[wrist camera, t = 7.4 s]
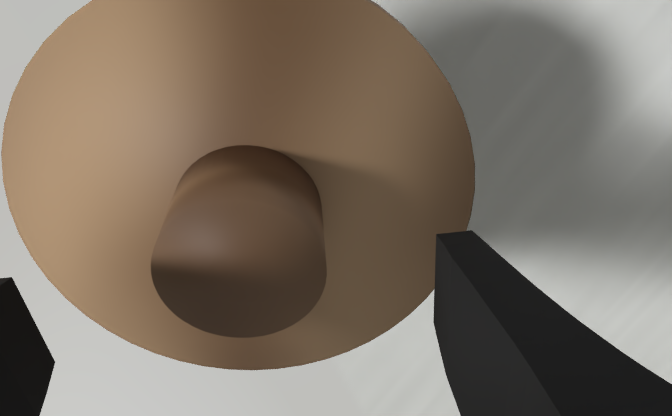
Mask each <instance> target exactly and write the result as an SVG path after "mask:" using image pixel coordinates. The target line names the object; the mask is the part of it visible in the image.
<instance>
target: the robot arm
mask: <svg viewBox="0 0 672 416" xmlns="http://www.w3.org/2000/svg"><path fill="white" fill-rule="evenodd" d="M434 326H435V330H436V335H437V339H438V343H439V347H440V352H441V356H442V360H443V364H444V368H445V372H446V376H447V378H448V381H449V384H450V387H451V390H452V392H453V395H454V398H455V401H456V403H457V406H458V409H459V412H460V414H461V416H672V384H670V383H669V382H667V381H665V380H664V379H662V378H661V377H659V376H658V375H656V374H654V373H653V372H651V371H650V370H648V369H646V368H645V367H643V366H642V365H640V364H639V363H637V362H636V361H634V360H633V359H631V358H630V357H628V356H627V355H626V354H624V353H623V352H621V351H620V350H618V349H617V348H616V347H614V346H613V345H611V344H610V343H609V342H607V341H606V340H604V339H603V338H602V337H600V336H599V335H598V334H596V333H595V332H593V331H592V330H591V329H589V328H588V327H587V326H585V325H584V324H582V323H581V322H580V321H579V320H577V319H576V318H575V317H573V316H572V315H571V314H569V313H568V312H567V311H566V310H564V309H563V308H562V307H561V306H559V305H558V304H557V303H556V302H554V301H553V300H552V299H551V298H549V297H548V296H547V295H546V294H545V293H543V292H542V291H541V290H540V289H538V288H537V287H536V286H535V285H534V284H532V283H531V282H530V281H529V280H528V279H527V278H525V277H524V276H523V275H522V274H521V273H520V272H519V271H517V270H516V269H515V268H514V267H513V266H512V265H510V264H509V263H508V262H507V261H506V260H505V259H504V258H502V257H501V256H500V255H499V254H498V253H497V252H496V251H495V250H493V249H492V248H491V247H490V246H489V245H488V244H487V243H486V242H484V241H483V240H482V239H481V238H480V237H479V236H477V235H476V234H475V233H474V232H473V231H472V230H471V231H461V232H451V233H441V234H436V256H435V292H434ZM54 363H55V361H54V359H53V357H52V355H51V353H50V351H49V349H48V348H47V345H46V344H45V341H44V340H43V338H42V336H41V334H40V332H39V330H38V328H37V326H36V324H35V322H34V320H33V318H32V316H31V314H30V312H29V310H28V308H27V306H26V304H25V302H24V300H23V298H22V297H21V295H20V292H19V290H18V288H17V286H16V285H15V283H14V281H13V279H12V277H10V278H0V416H39V415H40V412H41V408H42V406H43V403H44V399H45V396H46V393H47V390H48V386H49V382H50V379H51V375H52V371H53V368H54Z"/></svg>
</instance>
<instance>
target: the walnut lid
mask: <svg viewBox="0 0 672 416" xmlns="http://www.w3.org/2000/svg"><path fill="white" fill-rule="evenodd" d="M1 153H2V169H3V182H4V187H5V191H6V196H7V200H8V205H9V209H10V212H11V214H12V217H13V219H14V222H15V224H16V227H17V230H18V232H19V235H20V236H21V238H22V240H23V242H24V244H25V246H26V247H27V249H28V251H29V253H30V255H31V256H32V257H33V259H34V261H35V262H36V264H37V265H38V266H39V268H40V269H41V270H42V272H43V273H44V274H45V276H46V277H47V279H48V280H49V281H50V282H51V283H52V284H53V285H54V286H55V287H56V288H57V289H58V290H59V291H60V293H61V294H62V295H63V296H64V297H65V298H66V299H67V300H68V301H70V302H71V303H72V304H73V305H74V306H76V307H77V308H78V309H79V310H80V311H81V312H83V313H84V314H85V315H86V316H88V317H89V318H90V319H92V320H93V321H95V322H96V323H98V324H99V325H101V326H102V327H104V328H105V329H106V330H108V331H110V332H112V333H114V334H116V335H117V336H119V337H121V338H123V339H125V340H126V341H128V342H130V343H132V344H135V345H137V346H139V347H142V348H144V349H146V350H149V351H151V352H154V353H156V354H160V355H162V356H166V357H169V358H172V359H176V360H178V361H183V362H187V363H192V364H197V365H201V366H208V367H215V368H223V369H237V370H263V369H279V368H286V367H292V366H299V365H304V364H309V363H313V362H317V361H321V360H325V359H328V358H331V357H334V356H337V355H339V354H342V353H345V352H348V351H350V350H352V349H354V348H357V347H359V346H361V345H363V344H365V343H367V342H370V341H371V340H373V339H375V338H376V337H378V336H380V335H381V334H383V333H385V332H386V331H388V330H390V329H391V328H392V327H394V326H395V325H396V324H398V323H399V322H400V321H402V320H403V319H404V318H406V317H407V316H408V315H409V314H410V313H412V312H413V311H414V310H415V309H416V308H417V307H418V306H419V305H420V304H421V303H422V302H423V301H424V300H425V299H426V298H427V297H428V296H429V294H430V293H431V292H432V291H433V290H434V288H435V256H436V234H441V233H451V232H461V231H466V230H467V226H468V223H469V220H470V216H471V211H472V204H473V198H474V191H475V163H474V156H473V150H472V143H471V137H470V133H469V130H468V127H467V124H466V121H465V117H464V114H463V111H462V109H461V106H460V104H459V102H458V100H457V98H456V96H455V94H454V92H453V90H452V88H451V86H450V84H449V82H448V81H447V79H446V78H445V76H444V75H443V73H442V72H441V70H440V69H439V68H438V66H437V65H436V63H435V62H434V60H433V59H432V57H431V56H430V55H429V53H428V52H427V51H426V49H425V48H424V47H423V46H422V45H421V44H420V43H419V42H418V41H417V40H416V38H415V37H414V36H413V35H412V34H411V33H410V32H409V31H408V30H407V29H406V28H405V27H404V25H402V24H401V23H400V22H399V21H397V20H396V19H395V18H394V17H393V16H391V15H390V14H389V13H388V12H386V11H385V10H384V9H383V8H381V7H380V6H379V5H378V4H376V3H374V2H373V1H371V0H92V1H90V2H89V3H88V4H86V5H85V6H83V7H82V8H81V9H79V10H78V11H77V12H75V13H74V14H72V15H71V16H69V17H68V18H67V19H66V20H65V21H64V22H63V23H62V24H61V25H60V26H59V27H58V28H57V29H56V30H55V31H54V32H53V33H52V34H51V35H50V36H49V37H48V38H47V39H46V40H45V41H44V42H43V44H42V45H41V47H40V48H39V50H38V51H37V52H36V54H35V55H34V56H33V58H32V59H31V61H30V62H29V63H28V65H27V66H26V68H25V70H24V72H23V74H22V76H21V78H20V80H19V83H18V85H17V87H16V89H15V91H14V93H13V95H12V98H11V102H10V106H9V109H8V113H7V116H6V120H5V123H4V133H3V142H2V152H1Z"/></svg>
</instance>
